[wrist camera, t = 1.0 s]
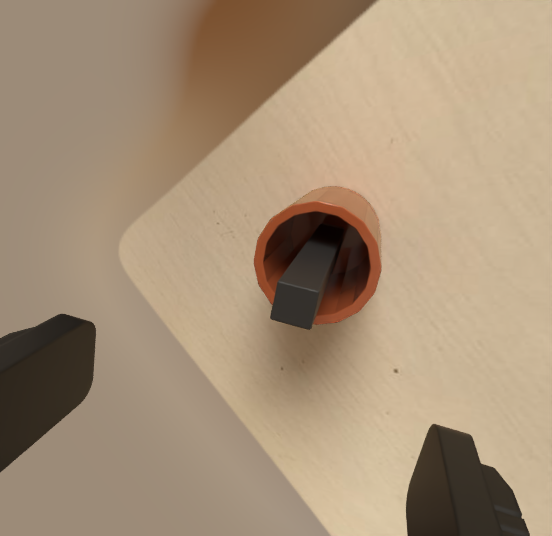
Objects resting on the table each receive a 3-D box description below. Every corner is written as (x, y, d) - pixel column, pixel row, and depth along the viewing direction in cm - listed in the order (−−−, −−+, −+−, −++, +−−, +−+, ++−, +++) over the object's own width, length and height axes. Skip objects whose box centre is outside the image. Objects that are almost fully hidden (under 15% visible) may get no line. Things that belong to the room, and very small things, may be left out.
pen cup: (296, 177, 28) (265, 189, 21) (391, 197, 27) (395, 218, 20) (278, 265, 30) (245, 306, 23) (366, 288, 29) (362, 338, 22)
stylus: (321, 220, 28) (277, 280, 16) (346, 226, 28) (319, 291, 15) (316, 244, 28) (269, 319, 16) (340, 249, 28) (310, 331, 16)
